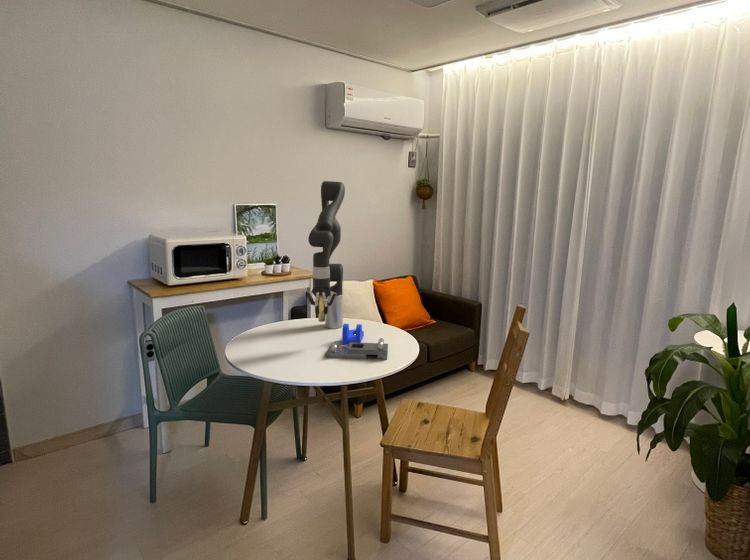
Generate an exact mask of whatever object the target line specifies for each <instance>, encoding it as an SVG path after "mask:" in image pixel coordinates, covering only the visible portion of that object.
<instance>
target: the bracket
mask: <svg viewBox="0 0 750 560" xmlns="http://www.w3.org/2000/svg"><path fill="white" fill-rule="evenodd" d="M341 329H342V332H341V333H342V334H341V335H342V337H341V340H342V343H341V345H344V344H349V343H350V342H356V343H362V342H363V339H364V333H365V332H364V330H363V324H362V323H361V324H360V323H359V324H358V323H357V324H356V326H355V329H350V324H349V323H343V326H342V328H341ZM354 334H356V335H354ZM361 341H362V342H361Z"/></svg>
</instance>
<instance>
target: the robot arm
mask: <svg viewBox="0 0 750 560" xmlns="http://www.w3.org/2000/svg"><path fill="white" fill-rule="evenodd" d="M345 193H346V188H345V184H344V182H341V181H334V180H332V181H330V180H324V181H322V183H321V185H320V200H321V201H320V202H321V212H320V213H319V215H318V218H317V222H316V223H315V225H314V227H313V228H312V229H311V231H310V232H309V235H308V243H309V245H310V246H311V247H314V248H322V250H321V251H318V252H315V253H314V254H313V256H312V265H313V267H312V289H311V290H309V291H307V292H306V297H307V299H308V301H309V303H310V305H311V306H314V310H315V311H314V312H315V314H316V315H318V299H319V295H323V300H324V304H325V307H324V314H325V321H324V327H325V328H327V329H340V328H343V324H344V323H343V321H344V319H343V317H344V315H343V314H344V312H343V309H344V308H343V307H344V305H343V304H344V303H343V299H344V298H343V294H344V291H343V287H344V286H343V282H344V266H343V265H342V264H341V263H330V259H331V257H332V255H333V253H334V252H335V250H336V249H337V247H338V246H339V244H340V243H341V238H342V237H341V235H342V232H341V231H342V229H341V228H342V227H341V225H340V223H339V221H338V219H337V218H336V216H337V214H338V211H339V210H340V208H341V205H342V203H343V200H344V198H345ZM330 202H331V203H330ZM331 282H336V283H334V284H333V285H331ZM313 296H314V297H315V300H314V298H313Z"/></svg>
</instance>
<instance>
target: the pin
mask: <svg viewBox="0 0 750 560" xmlns="http://www.w3.org/2000/svg"><path fill="white" fill-rule="evenodd" d="M324 307H325V304H324V300H323V295H319V299H318V318H317V319H318V322H319V323H322V322H324V323H325V314H324Z"/></svg>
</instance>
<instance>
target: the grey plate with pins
mask: <svg viewBox="0 0 750 560" xmlns="http://www.w3.org/2000/svg"><path fill="white" fill-rule="evenodd" d="M377 341H378V342H376V343H375V342H361V343H356V342H350V343H349V345H348V346H347V345H345V346H344V345H339V344H340V342H339V341H338V340H334V341H333V343H332V345H329V347H328V348H327V349H326V352H325V358H331V359H332V358H334V359H335V358H336V359H360V360H361V359H363V360H366V359H367V356H368V355H375V356H377V360H382V359H383V360H384V359H385V360H388V354H389V343H385V339H384V338H379V339H378V340H377Z"/></svg>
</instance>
